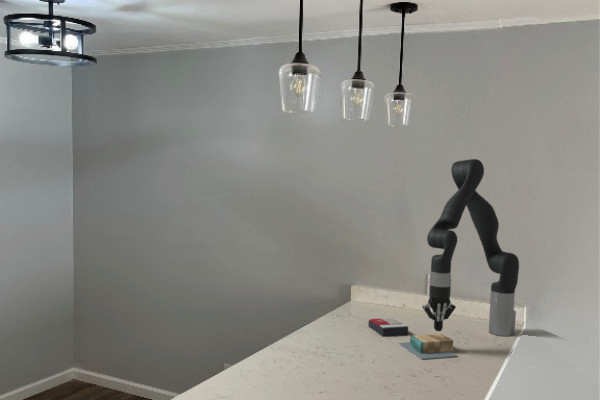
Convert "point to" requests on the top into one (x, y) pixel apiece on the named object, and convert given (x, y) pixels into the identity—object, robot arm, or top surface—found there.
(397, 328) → the calculator
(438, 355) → the mat
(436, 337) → the block
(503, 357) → the top surface
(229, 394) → the top surface
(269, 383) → the top surface
